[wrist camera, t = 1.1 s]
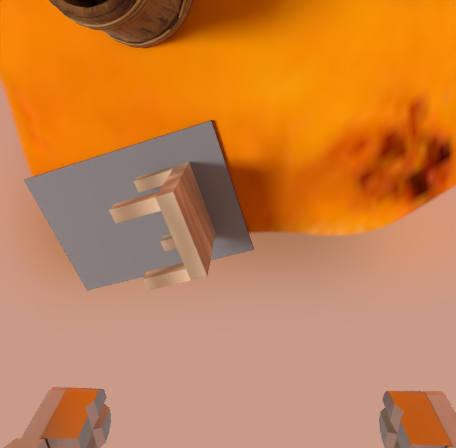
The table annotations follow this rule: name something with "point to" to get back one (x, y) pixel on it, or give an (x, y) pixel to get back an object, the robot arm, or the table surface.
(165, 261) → the mat
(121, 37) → the wooden mug
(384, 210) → the table surface
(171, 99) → the table surface
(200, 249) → the stool
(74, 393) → the robot arm
